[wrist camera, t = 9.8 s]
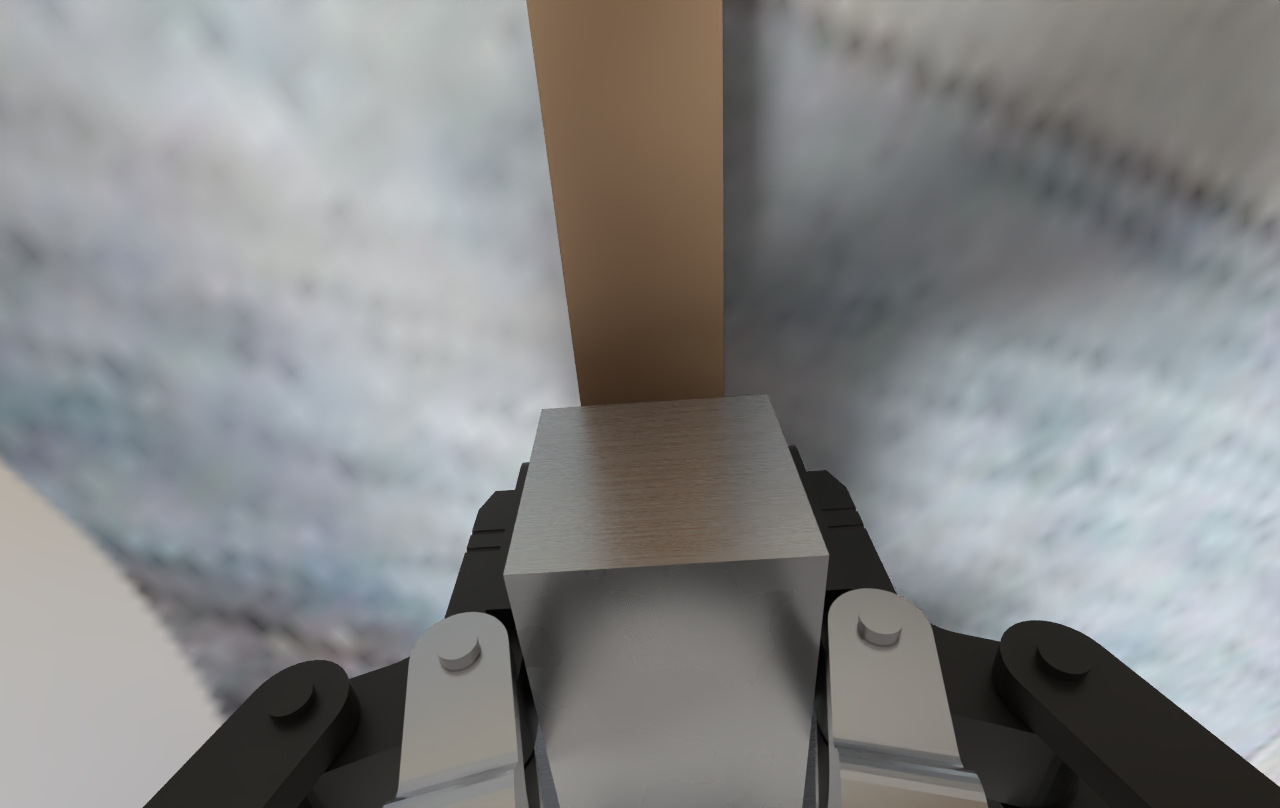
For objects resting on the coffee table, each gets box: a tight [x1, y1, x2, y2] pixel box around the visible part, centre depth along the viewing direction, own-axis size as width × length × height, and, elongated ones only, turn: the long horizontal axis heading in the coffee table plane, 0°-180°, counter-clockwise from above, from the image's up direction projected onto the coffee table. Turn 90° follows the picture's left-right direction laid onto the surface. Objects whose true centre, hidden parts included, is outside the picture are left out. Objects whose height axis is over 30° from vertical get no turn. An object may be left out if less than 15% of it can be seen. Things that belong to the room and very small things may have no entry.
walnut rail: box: [526, 0, 724, 407], centre depth 11 cm, size 3×24×2 cm, turn 4°
